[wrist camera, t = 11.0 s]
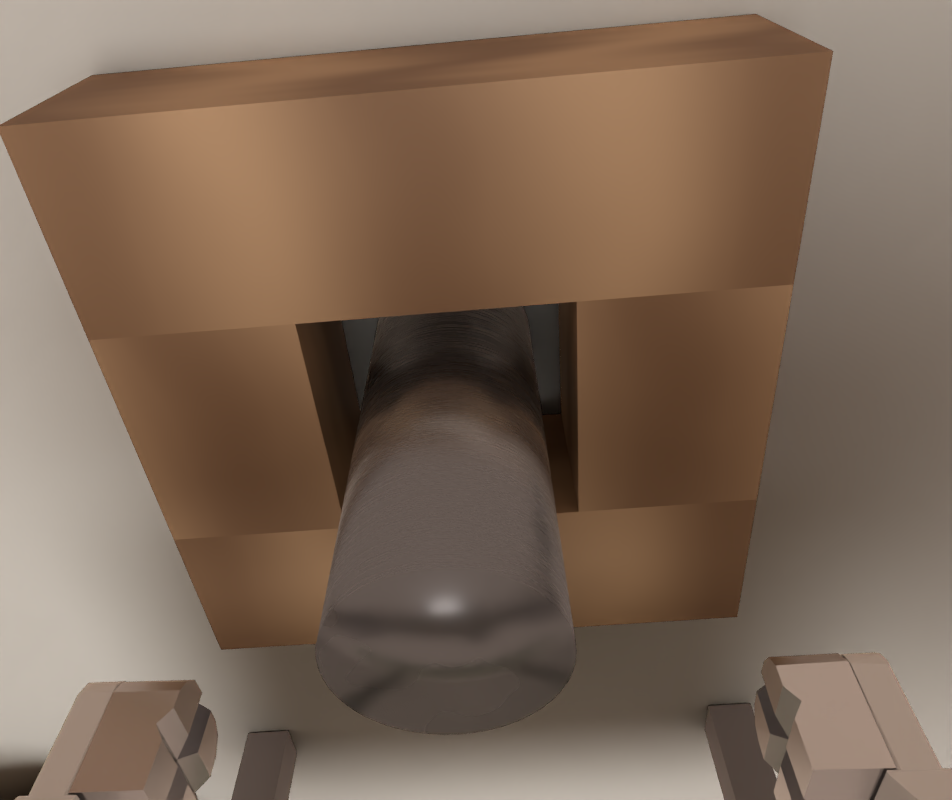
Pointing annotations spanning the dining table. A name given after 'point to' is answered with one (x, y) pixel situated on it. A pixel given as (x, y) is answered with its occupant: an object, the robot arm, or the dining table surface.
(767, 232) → the socket plate
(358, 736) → the dining table surface
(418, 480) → the peg
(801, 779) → the robot arm
